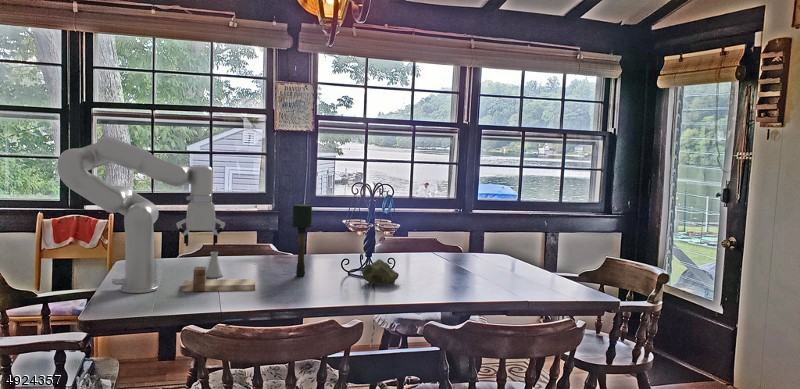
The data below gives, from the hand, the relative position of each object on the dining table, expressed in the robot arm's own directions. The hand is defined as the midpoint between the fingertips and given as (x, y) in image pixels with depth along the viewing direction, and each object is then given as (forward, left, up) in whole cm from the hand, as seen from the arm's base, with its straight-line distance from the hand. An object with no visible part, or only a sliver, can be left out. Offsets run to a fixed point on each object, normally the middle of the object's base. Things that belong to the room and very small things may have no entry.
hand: (200, 245), depth 223 cm
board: (+7, +2, -16) cm, 18 cm away
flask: (+4, +22, -17) cm, 28 cm away
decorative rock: (+70, +3, -17) cm, 72 cm away
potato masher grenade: (+39, +21, -17) cm, 47 cm away
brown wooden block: (0, +2, -16) cm, 16 cm away
